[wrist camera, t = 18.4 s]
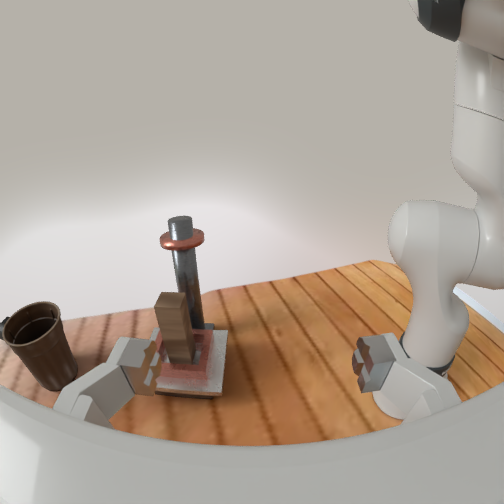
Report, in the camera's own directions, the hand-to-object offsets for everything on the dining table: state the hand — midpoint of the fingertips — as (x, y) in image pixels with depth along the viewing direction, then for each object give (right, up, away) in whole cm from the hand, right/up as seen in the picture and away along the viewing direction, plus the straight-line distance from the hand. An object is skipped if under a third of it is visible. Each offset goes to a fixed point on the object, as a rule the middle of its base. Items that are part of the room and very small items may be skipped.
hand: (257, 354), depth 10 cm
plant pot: (-47, -25, +38) cm, 65 cm away
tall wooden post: (-14, -17, +40) cm, 45 cm away
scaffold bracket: (-14, -20, +47) cm, 53 cm away
